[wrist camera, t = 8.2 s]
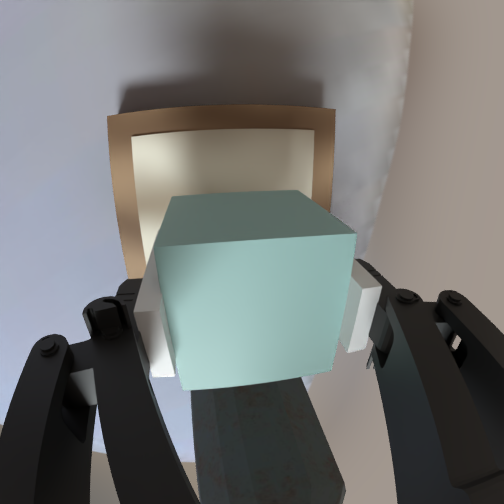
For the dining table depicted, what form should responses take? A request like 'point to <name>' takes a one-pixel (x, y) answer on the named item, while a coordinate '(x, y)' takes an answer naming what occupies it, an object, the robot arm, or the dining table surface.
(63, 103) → the dining table surface
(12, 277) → the dining table surface
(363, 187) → the dining table surface
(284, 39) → the dining table surface
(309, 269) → the cube
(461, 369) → the robot arm
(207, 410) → the bottle
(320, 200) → the picture frame
